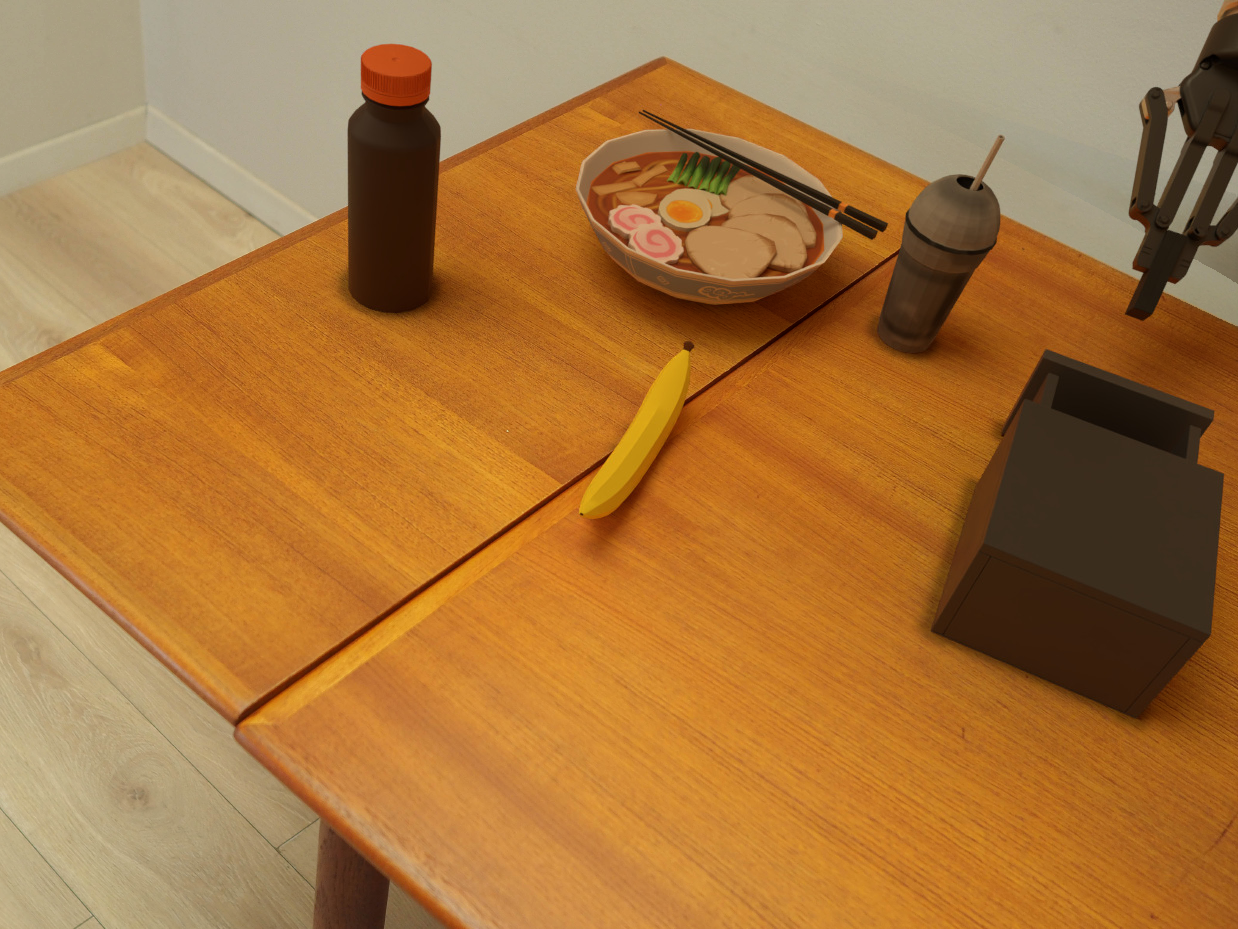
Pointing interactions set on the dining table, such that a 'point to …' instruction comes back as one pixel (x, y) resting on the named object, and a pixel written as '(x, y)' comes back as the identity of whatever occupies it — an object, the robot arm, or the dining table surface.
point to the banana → (640, 439)
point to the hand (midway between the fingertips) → (1138, 314)
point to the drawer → (1116, 405)
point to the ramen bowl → (711, 214)
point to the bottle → (392, 181)
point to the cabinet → (1086, 560)
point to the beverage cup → (938, 256)
